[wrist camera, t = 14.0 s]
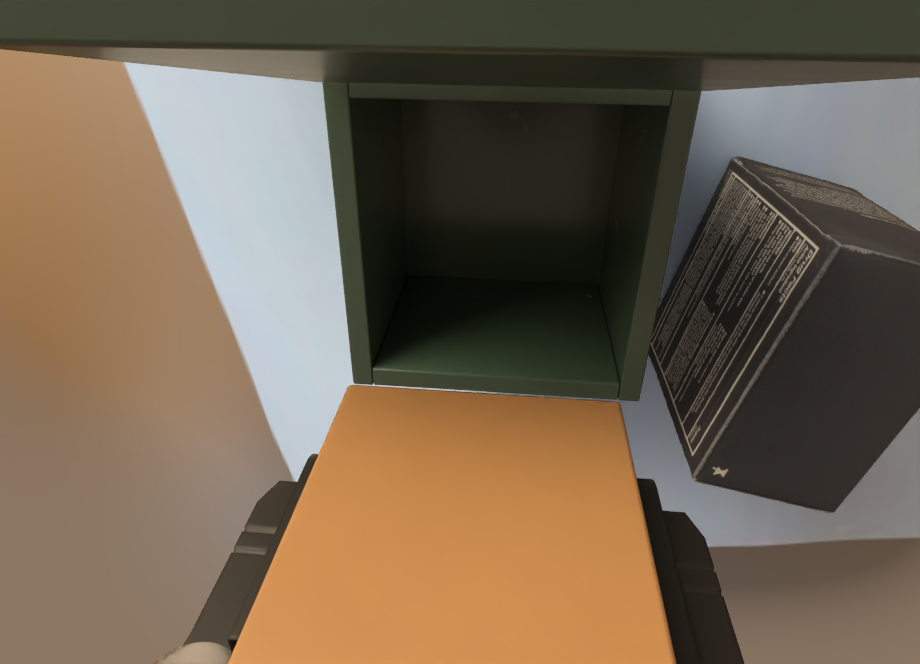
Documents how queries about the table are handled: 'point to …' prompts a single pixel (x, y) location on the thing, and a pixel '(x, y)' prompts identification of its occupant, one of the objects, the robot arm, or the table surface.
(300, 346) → the table surface
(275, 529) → the robot arm
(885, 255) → the small box
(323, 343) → the table surface
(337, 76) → the bin lid
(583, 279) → the bin
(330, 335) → the table surface
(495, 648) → the carton
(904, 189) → the table surface
